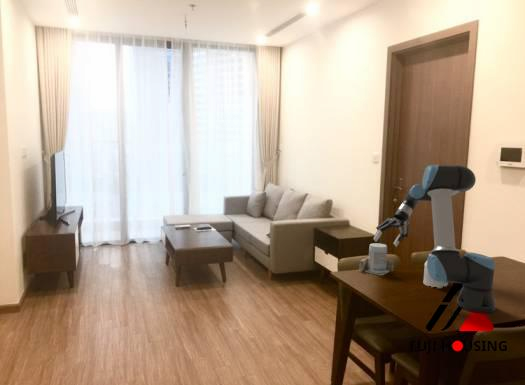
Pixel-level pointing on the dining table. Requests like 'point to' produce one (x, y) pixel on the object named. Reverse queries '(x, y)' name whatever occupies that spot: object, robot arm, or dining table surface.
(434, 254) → the robot arm
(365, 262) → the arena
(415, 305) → the dining table surface
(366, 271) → the mat
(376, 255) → the supplement tub
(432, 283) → the jar
